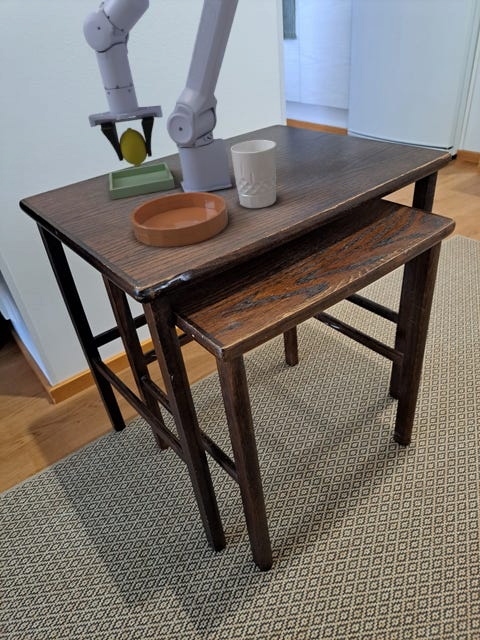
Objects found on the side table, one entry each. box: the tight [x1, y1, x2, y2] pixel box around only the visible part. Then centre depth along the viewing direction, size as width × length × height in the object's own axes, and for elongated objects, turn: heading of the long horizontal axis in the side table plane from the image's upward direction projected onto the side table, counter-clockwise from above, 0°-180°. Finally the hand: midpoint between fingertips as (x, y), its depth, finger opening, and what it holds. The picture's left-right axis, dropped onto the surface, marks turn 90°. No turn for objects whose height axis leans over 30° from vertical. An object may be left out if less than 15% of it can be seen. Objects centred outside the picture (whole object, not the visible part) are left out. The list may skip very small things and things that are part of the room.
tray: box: [108, 162, 176, 200], centre depth 98 cm, size 13×13×2 cm
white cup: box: [230, 139, 278, 209], centre depth 80 cm, size 8×8×10 cm
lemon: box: [119, 127, 148, 168], centre depth 94 cm, size 6×6×8 cm
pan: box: [130, 191, 229, 248], centre depth 77 cm, size 16×16×3 cm
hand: (135, 157), depth 95 cm, fingers closed on lemon, 5 cm apart
